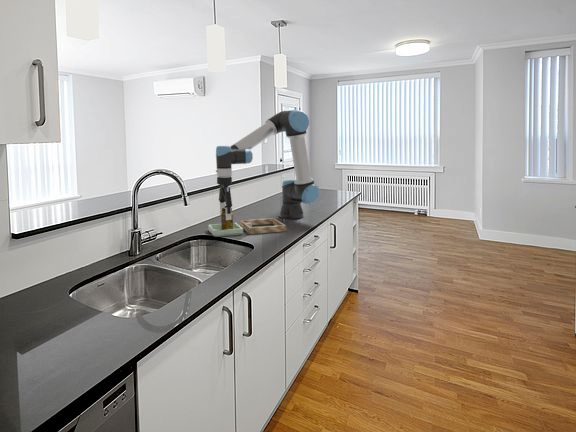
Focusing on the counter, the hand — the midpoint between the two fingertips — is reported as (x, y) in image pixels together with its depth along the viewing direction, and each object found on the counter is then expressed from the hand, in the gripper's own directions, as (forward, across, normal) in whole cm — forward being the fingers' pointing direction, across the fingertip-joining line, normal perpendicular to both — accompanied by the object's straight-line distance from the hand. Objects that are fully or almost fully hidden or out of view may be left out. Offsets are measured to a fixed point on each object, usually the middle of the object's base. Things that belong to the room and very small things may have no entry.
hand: (225, 217), depth 211 cm
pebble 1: (+8, -7, +14) cm, 18 cm away
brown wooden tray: (+8, -2, +21) cm, 22 cm away
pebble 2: (+8, +4, +27) cm, 29 cm away
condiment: (+7, 0, 0) cm, 7 cm away
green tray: (+8, 0, 0) cm, 8 cm away
